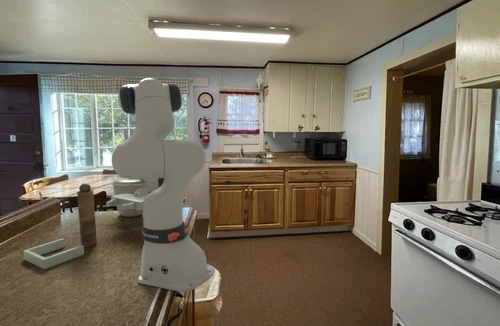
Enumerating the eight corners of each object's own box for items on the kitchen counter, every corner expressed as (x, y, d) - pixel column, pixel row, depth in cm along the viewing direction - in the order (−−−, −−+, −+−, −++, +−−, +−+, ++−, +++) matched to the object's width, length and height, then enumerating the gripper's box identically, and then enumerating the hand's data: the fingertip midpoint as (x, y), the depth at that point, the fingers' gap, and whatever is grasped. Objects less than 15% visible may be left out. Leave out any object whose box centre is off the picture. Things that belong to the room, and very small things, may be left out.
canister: (140, 220, 131) (138, 175, 128) (105, 218, 134) (102, 174, 131) (159, 209, 149) (157, 169, 146) (127, 208, 152) (125, 169, 149)
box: (84, 254, 96) (83, 245, 96) (44, 269, 86) (43, 259, 85) (63, 246, 102) (62, 238, 102) (24, 259, 92) (23, 250, 92)
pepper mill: (99, 243, 105) (95, 182, 102) (86, 248, 101) (81, 185, 98) (91, 240, 107) (87, 181, 105) (78, 245, 103) (73, 183, 100)
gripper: (127, 189, 129) (98, 195, 117) (159, 194, 118) (130, 201, 107) (128, 202, 129) (99, 210, 117) (160, 208, 119) (131, 217, 107)
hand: (114, 205), depth 112 cm, fingers open, 8 cm apart
